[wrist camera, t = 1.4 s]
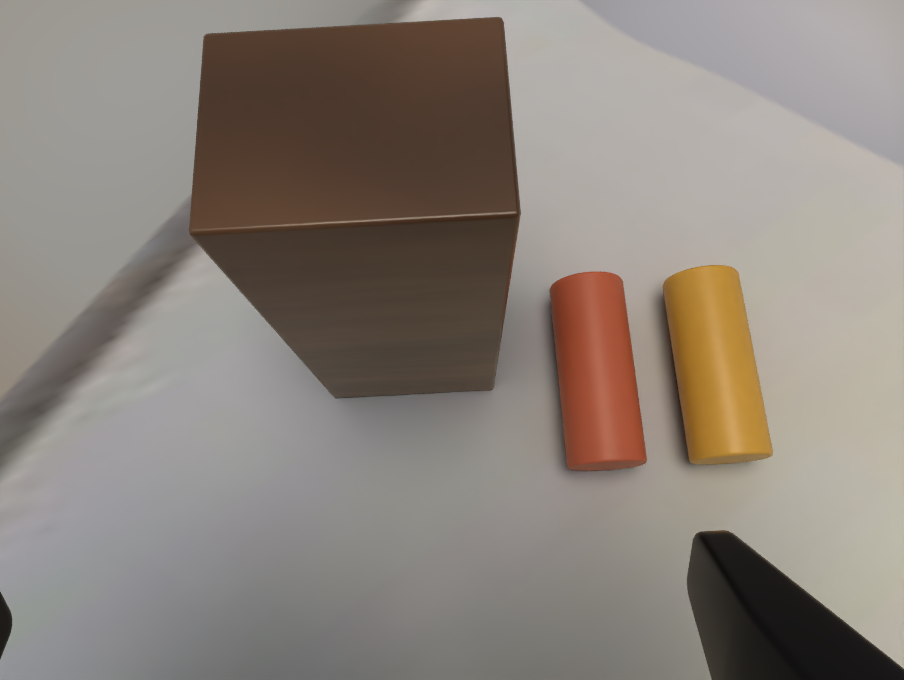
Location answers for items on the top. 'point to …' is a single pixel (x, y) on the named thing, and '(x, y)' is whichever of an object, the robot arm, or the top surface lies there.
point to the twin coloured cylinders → (696, 363)
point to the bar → (365, 196)
